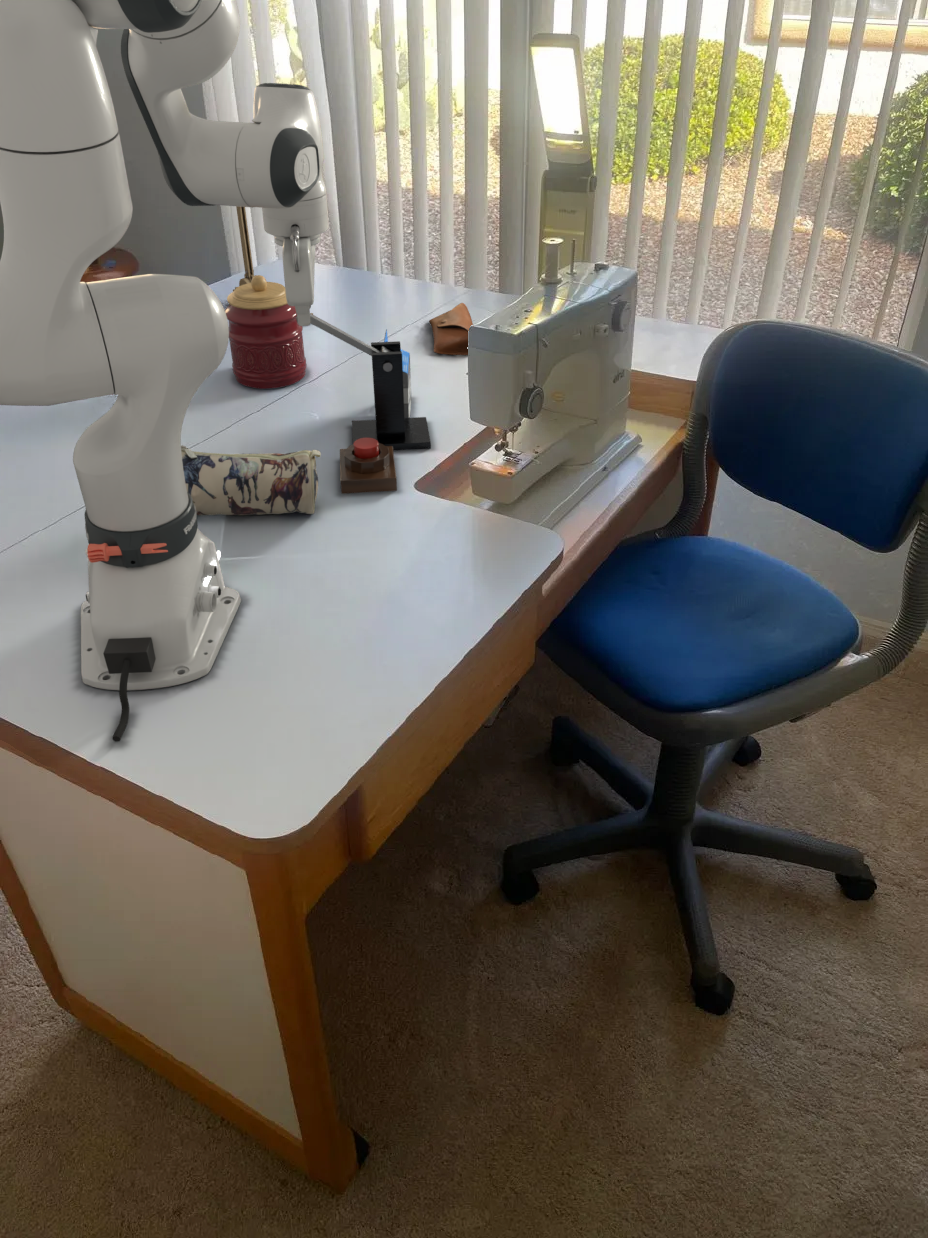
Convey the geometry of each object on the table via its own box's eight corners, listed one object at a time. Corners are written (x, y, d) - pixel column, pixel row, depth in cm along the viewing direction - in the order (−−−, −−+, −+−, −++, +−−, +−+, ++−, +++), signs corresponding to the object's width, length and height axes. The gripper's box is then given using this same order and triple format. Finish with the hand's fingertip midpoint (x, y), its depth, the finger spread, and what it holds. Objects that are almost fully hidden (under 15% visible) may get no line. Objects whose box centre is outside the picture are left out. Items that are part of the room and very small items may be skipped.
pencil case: (163, 526, 133) (149, 462, 127) (178, 494, 139) (165, 432, 134) (322, 526, 133) (316, 462, 127) (330, 495, 139) (324, 433, 133)
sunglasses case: (426, 319, 194) (442, 289, 191) (456, 335, 197) (473, 306, 194) (433, 353, 180) (451, 322, 177) (465, 370, 183) (483, 340, 179)
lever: (293, 324, 138) (300, 310, 137) (294, 311, 143) (301, 297, 142) (391, 377, 145) (399, 364, 144) (390, 363, 149) (397, 350, 148)
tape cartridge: (410, 421, 158) (407, 349, 151) (386, 422, 158) (382, 349, 151) (412, 398, 165) (409, 328, 158) (389, 398, 165) (385, 328, 158)
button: (379, 458, 140) (378, 448, 139) (354, 460, 140) (353, 449, 139) (378, 447, 143) (377, 436, 142) (354, 448, 143) (353, 437, 142)
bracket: (353, 453, 150) (346, 361, 141) (352, 427, 157) (345, 338, 148) (430, 449, 151) (428, 357, 142) (426, 423, 158) (423, 335, 149)
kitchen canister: (220, 374, 174) (204, 274, 163) (281, 355, 181) (270, 258, 170) (259, 396, 166) (245, 293, 155) (321, 376, 173) (312, 276, 162)
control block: (397, 491, 140) (395, 466, 138) (341, 494, 140) (339, 469, 137) (393, 458, 148) (392, 434, 146) (340, 461, 147) (338, 437, 145)
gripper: (318, 237, 124) (327, 341, 133) (319, 196, 141) (326, 292, 149) (268, 238, 124) (280, 343, 132) (275, 197, 140) (284, 293, 148)
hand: (304, 315), depth 141 cm, fingers closed on lever, 5 cm apart
